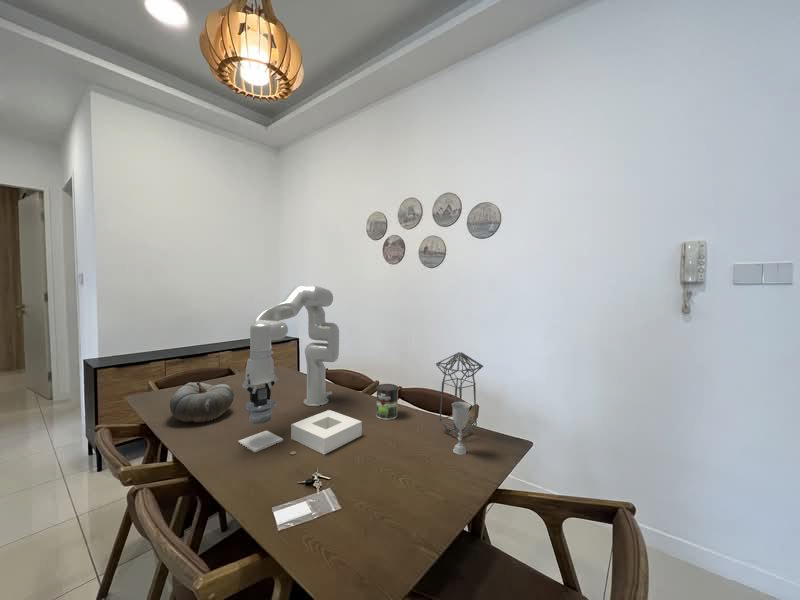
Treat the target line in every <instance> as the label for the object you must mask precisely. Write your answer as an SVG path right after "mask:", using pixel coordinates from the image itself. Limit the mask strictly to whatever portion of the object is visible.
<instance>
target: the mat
mask: <svg viewBox="0 0 800 600" xmlns="http://www.w3.org/2000/svg"><path fill="white" fill-rule="evenodd" d="M283 441H284V438H283V437H280V436H279V435H276V434H275V433H272V432H270V431H268V430H264V431H261V432H259V433H255V434H252V435H250V436H247V437H244V438H242V439H240V440H237V443H238V442H239V443H240V445H241V444H242V445H241V446H243V447H244V446H245V447H244V448H246V447H247V449H248V450H249V451H251V452H253V453H257V452H260V451H262V450H264V449H267V448H269V447H271V446H274V445H276V443H277V444H279V443H281V442H283ZM239 443H238V444H239Z"/></svg>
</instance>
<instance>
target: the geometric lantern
mask: <svg viewBox="0 0 800 600" xmlns="http://www.w3.org/2000/svg"><path fill="white" fill-rule="evenodd" d="M446 360H448V361H447V362H444V361H446ZM456 363H457V365H456V369H453V368H454V365H455V364H456ZM460 363H461V370H460ZM473 363H474V364H473ZM444 365H445V366H444ZM449 365H450V366H449ZM467 365H468V367H467ZM435 366H436V367H437V368H438V369H439V370H440V371H441V372H442V374H443V375H444V376H443V379H442V381H441V392H440V393H441V394H440V405H439V406H440V407H439V420H438V422H439V423H440V424H441V425H442V426H444V428H445V433H447V434H449V435H451V436H453V437H455V438H457V439H458V438H459V435H458V433H459V429H457V428H456V425H455V423H454V422H453V423H451V424H446V423H445V422H443V420H446V419H448V418H453V414H451V415H449V416H446V417H442V410H443V408H442V407H443V399H444V387H445V385H447V386H450V387H453V388H454V402H457V396H458V389H459V402H463V400H462V398H463V397H462V395H463V393H462V391H463V390H462V389H464V388H465V389H466V388H469V387H473V401H474V402H473V403H474V404H473V405H474V406H473V407H474V420H473V419H471V418H469V419H468V421H470V422H472V425H470V426H468V425H466V426H465V427H464V429H462V431H461V432H462V433H465V432H466V433H467V434H465V435H463V436H461V438H462V439H463V438H464V437H467V436H469V435H471V430H472V429H473V428H475V427H477V425H478V423H477V422H478V420H477V401H476V400H477V395H476V384H477V383H476V381H475V374H476V373H477V372H479V371H480V370H481V369H482V368H484V365H483V364H481V363H480V362H478V361H476V360H475V359H473V358H472V357H470V356H469V355H467V354H465V353H464V352H459V351H458V352H456V353H455V354H453V355H449V357H446V358H444V359H442V360H440V361H438V362H436V363H435ZM448 366H449V367H448ZM464 368H465V369H464ZM450 371H451V373H450ZM457 372H461V373H462V374H463V375H462V377H461V378H459V377H457V375H456V374H455V373H457ZM470 372H471V374H470ZM452 375H454V376H455V378H453V377H452ZM447 376H449V377H450V379H447V380H446V377H447ZM464 377H465V378H464ZM470 377H472V381H469V380H467V379H468V378H470ZM454 380H456V382H455V381H454ZM449 381H452V383H453V385H452V384H449V383H446V382H449ZM458 381H460V385H459V386H458V384H459V382H458ZM464 382H468V383H470V384H471V385H466V386H462V385H463V384H464ZM452 425H453V427H452ZM449 430H450V431H451V432H454V433H456V434H457V435H454V434H453V433H451V432H449Z"/></svg>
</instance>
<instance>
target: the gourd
mask: <svg viewBox="0 0 800 600" xmlns="http://www.w3.org/2000/svg"><path fill="white" fill-rule="evenodd" d="M234 394H235V393H234V391H233V388H232V387H231V386H230V385H228V384H226V383H225V384H223V383H221V384H216V385H212V384H207V383H203V382H200V381H196V382H187V383H186V384H184V385H183V386H181V387H180V388H178V390H176V392H174V394H173V395H172V396H171V397H170V400H169V409H170V413H171V415H172V417H173V418H175V419H177V420H178V421H182V422H183V423H190V422H193V423H204V422H205V421H207V422H210V420H211V421H213V419H214V420H216V419H218V418H219V417H221V416H222V415H224V414H225V413H226V412H227V411H228V409H229V408H230V407H231V406H232V404H233V401H234V398H235V397H234V396H235V395H234Z"/></svg>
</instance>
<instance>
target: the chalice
mask: <svg viewBox="0 0 800 600" xmlns="http://www.w3.org/2000/svg"><path fill="white" fill-rule="evenodd" d="M451 407H452V415H453V416H452V420H453V423H455V425H456V427H455V429H459V430H458V437H459V438H457V440H458V442H457V444H455V445H454V446H453V447H454V448H453V450H452V451H453V453H454V454H456V455H465V454H466V453H467V450H466V447H465V445H464V444H463V443H462V441H463V437H462V435H463V432H462V431H463V430H462V429H464V428H466V427H465V426H467V424H468V422H469V420H468V419H470V408H471V404H470V403H468V402H466V401H465V402H464V401H462V402H460V401H456V402H455V401H454V402H452V403H451ZM461 437H462V438H461Z"/></svg>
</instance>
